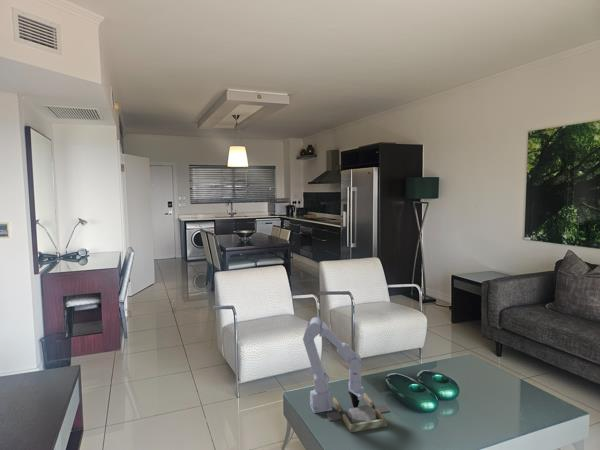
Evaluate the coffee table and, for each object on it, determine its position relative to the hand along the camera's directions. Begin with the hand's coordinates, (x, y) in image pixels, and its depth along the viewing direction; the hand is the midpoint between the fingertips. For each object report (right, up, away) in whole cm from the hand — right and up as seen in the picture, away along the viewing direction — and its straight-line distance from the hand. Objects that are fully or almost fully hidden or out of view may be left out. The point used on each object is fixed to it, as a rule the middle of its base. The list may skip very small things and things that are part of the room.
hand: (355, 406), depth 190 cm
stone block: (+2, -3, -8) cm, 8 cm away
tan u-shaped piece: (+1, -2, -3) cm, 3 cm away
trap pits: (+1, -2, -3) cm, 3 cm away
